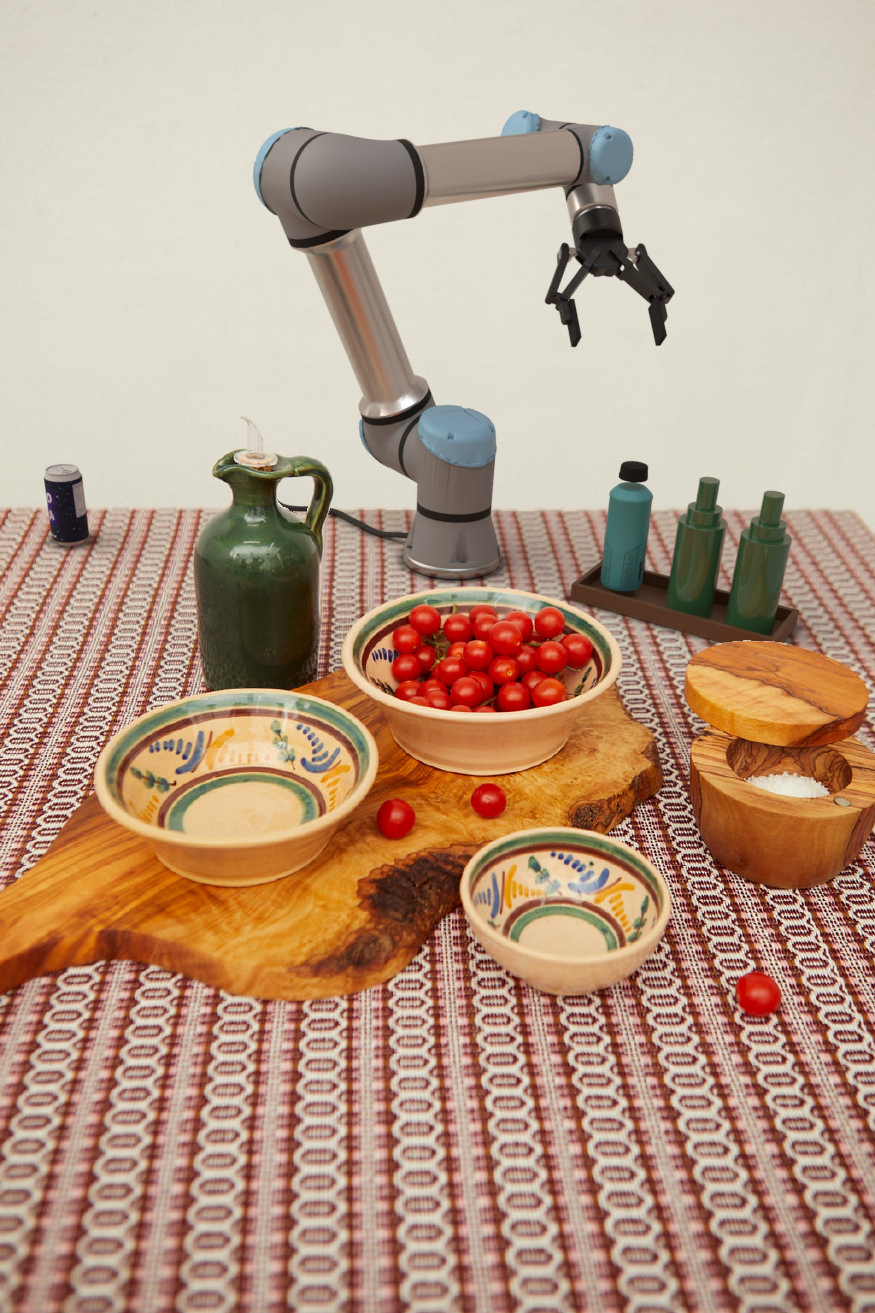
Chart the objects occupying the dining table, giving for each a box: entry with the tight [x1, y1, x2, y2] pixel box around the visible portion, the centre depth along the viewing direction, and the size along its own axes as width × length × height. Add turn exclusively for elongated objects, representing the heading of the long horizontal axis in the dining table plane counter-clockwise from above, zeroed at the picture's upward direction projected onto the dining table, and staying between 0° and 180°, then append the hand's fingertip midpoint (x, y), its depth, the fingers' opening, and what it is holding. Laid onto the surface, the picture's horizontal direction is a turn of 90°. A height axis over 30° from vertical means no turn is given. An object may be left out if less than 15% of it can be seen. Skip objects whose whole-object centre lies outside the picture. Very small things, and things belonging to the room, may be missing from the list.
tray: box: [569, 560, 800, 644], centre depth 160 cm, size 31×12×3 cm, turn 58°
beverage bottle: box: [600, 460, 654, 591], centre depth 160 cm, size 6×7×20 cm
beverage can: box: [43, 463, 90, 547], centre depth 172 cm, size 6×6×12 cm
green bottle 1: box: [665, 476, 729, 619], centre depth 155 cm, size 7×7×20 cm
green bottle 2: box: [724, 490, 793, 636], centre depth 151 cm, size 7×7×20 cm
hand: (619, 341), depth 164 cm, fingers open, 13 cm apart
